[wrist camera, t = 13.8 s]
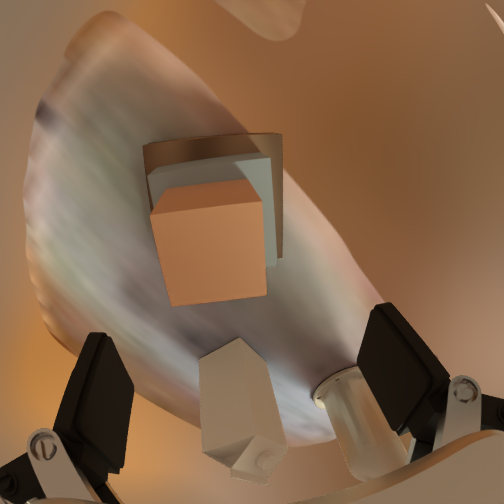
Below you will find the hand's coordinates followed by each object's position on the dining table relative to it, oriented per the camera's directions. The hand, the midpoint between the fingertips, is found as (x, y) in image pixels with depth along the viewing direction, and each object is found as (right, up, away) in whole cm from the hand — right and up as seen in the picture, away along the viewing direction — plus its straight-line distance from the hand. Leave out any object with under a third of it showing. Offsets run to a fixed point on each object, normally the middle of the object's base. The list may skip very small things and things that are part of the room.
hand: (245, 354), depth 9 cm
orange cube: (-3, +6, +12) cm, 13 cm away
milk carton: (-3, -12, +29) cm, 32 cm away
